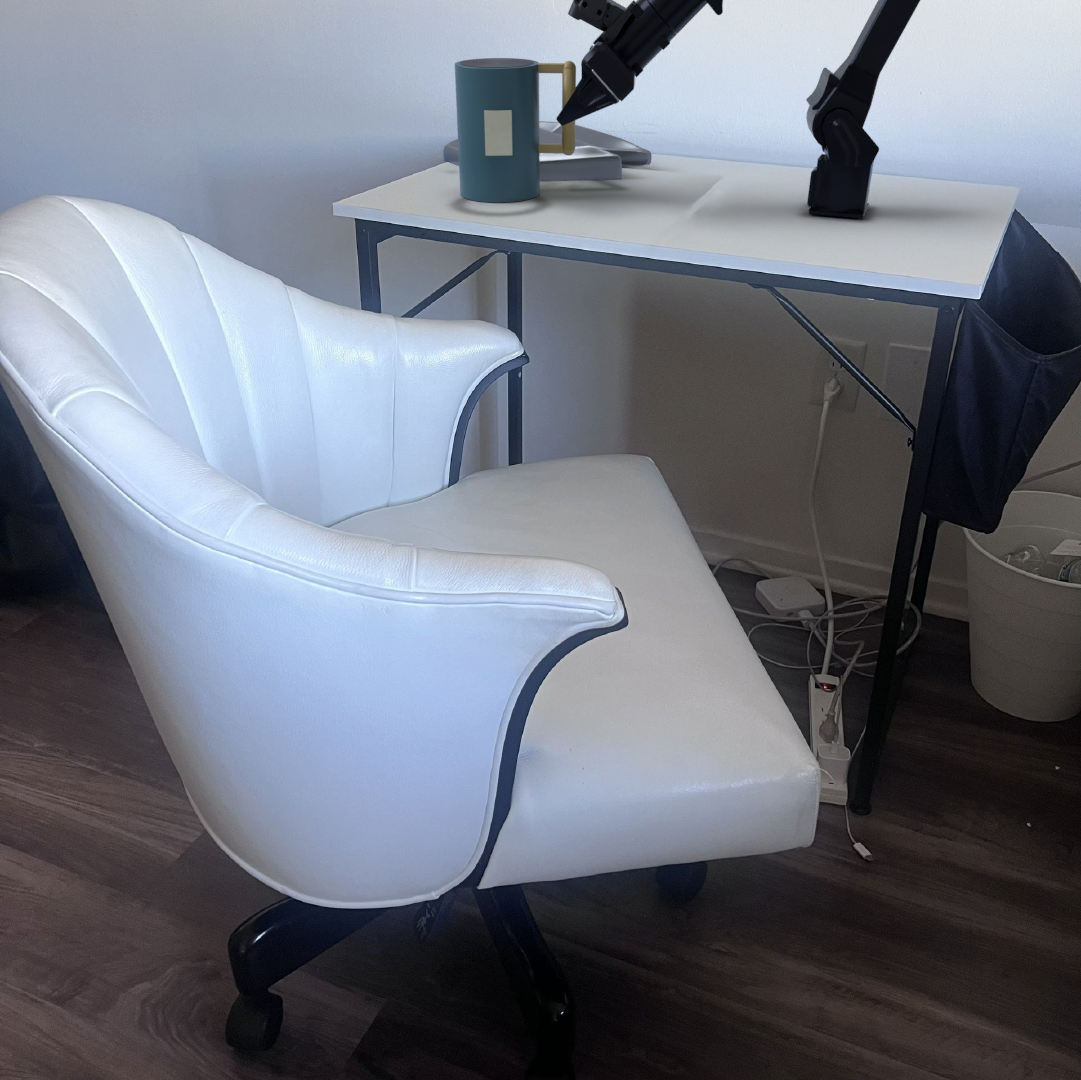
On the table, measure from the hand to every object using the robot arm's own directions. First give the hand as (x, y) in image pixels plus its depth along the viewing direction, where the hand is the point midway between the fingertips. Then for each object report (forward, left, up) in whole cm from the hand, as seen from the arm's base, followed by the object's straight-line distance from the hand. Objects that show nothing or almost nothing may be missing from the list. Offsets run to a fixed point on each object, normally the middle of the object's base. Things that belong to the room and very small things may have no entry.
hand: (562, 115), depth 125 cm
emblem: (+9, -18, -11) cm, 23 cm away
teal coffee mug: (+6, +2, -9) cm, 11 cm away
